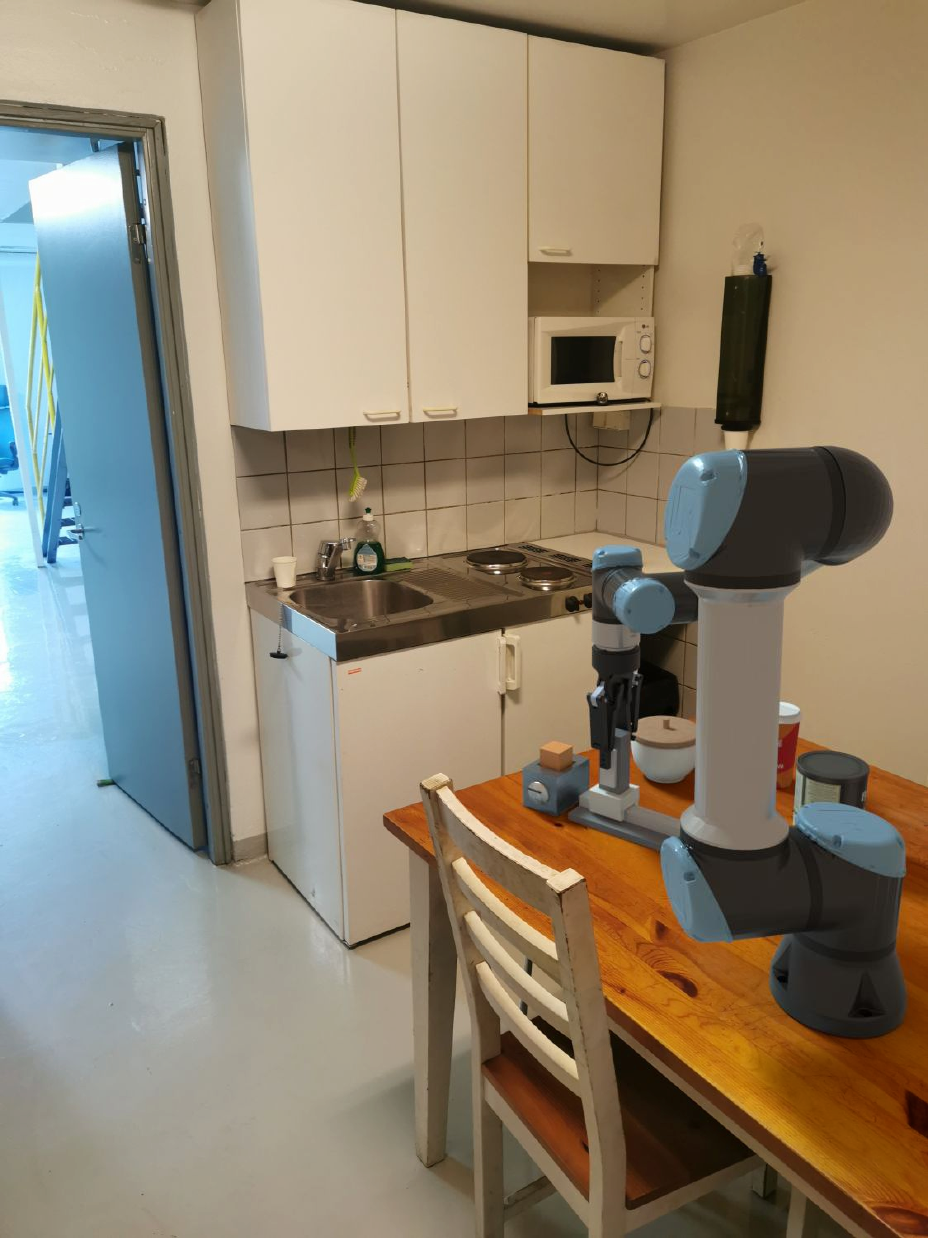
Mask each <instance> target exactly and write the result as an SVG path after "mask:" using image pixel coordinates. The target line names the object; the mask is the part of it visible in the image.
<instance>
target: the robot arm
mask: <svg viewBox="0 0 928 1238" xmlns="http://www.w3.org/2000/svg"><path fill="white" fill-rule="evenodd" d="M894 505H895V503H894V496H893V491H892V488H891V485H890V483H889V480H888V479H887V478H886V476H885V474H884V473H883V471H882V470H881V469H880V467H878V465H877V464H875V463H874V462H873V461H872V460H870V459H869V458H868V457H866V456H864V455H863V454H861V453H860V452H857V451H855V450H852V449H849V448H846V447H841V446H834V445H815V446H807V447H806V446H802V447H800V446H799V447H781V448H780V447H778V448H771V447H770V448H748V449H747V448H745V449H737V448H732V449H726V450H725V449H724V450H719V451H710V452H705V453H703V452H702V453H700V454H696V455H693V456H692V457H691V458H689V459H688V460H686V462H684V463H683V465H682V466H681V467H680V469H679V470H678V472H677V474H676V475H675V477H674V479H673V480H672V483H671V486H670V489H669V493H668V496H667V500H666V505H665V511H664V519H663V520H664V524H663V532H664V533H663V534H664V537H663V538H664V539H665V540H666V545H665V549H666V550H665V551H666V553H667V556H668V558H669V560H670V562H671V564H672V565H673V566H675V567H677V568H679V569H681V570H683V571H680V570H679V571H666V572H665V571H664V572H651V573H650V572H649V573H648V572H647V573H645V572H644V571H643V568H644V564H643V563H644V562H643V553H642V551H641V549H640V548H638V547H636V546H633V545H626V544H625V545H624V544H611V545H604V546H600V547H598V548H596V549H595V550H594V552H593V554H592V564H591V565H592V567H591V569H590V573H591V580H592V581H591V586H592V587H591V590H592V593H591V595H592V597H591V599H592V600H591V602H592V603H591V605H592V606H591V611H592V613H591V617H592V618H591V642H592V643H593V645H592V646H591V666H592V668H593V669H594V670H595V671H596V672H597V673H598V676H597V680H596V689H595V690H594V692H587V694H586V697H585V698H586V701H587V705H588V707H589V710H588V711H589V712H588V713H589V731H590V732H589V736H590V748H592V749H595V750H598V752H599V751H600V784H602V785H605V786H609V787H612V788H615V787H616V784H617V749H614V741H615V731H616V728H618V729H622V730H626V731H630V732H631V735H630V742H631V741H635V739H636V736H634V735H632V733H636V732H637V729H638V720H639V713H640V701H641V700H640V698H641V686H642V683H643V678H644V675H643V674H641V673H636V672H637V670H639V669H640V667H641V646H640V645H639V644H640V643H641V634H646V635H650V634H651V635H652V634H656V633H658V632H659V631H662V630H663V629H664V628H666V627H667V626H668V625H676V624H677V625H678V624H690V623H697V650H696V652H697V659H696V703H695V704H696V708H695V709H696V710H695V712H696V713H695V723H696V749H695V767H694V803H693V804H691V805H690V806H689V807H687V808H686V809H685V810H684V811H683V812H682V813H681V815H680V818H679V819H680V836H679V837H675V836H671V837H670V838H668V839H666V840H664V842H663V845H662V847H661V852H660V866H661V873H662V878H663V882H664V886H665V890H666V894H667V897H668V900H669V903H670V905H671V909H672V911H673V913H674V915H675V917H676V920H677V921H678V923H679V926H680V927H681V928H682V930H683V931H684V933H685V934H686V935H687V936H688V937H689V938H690V939H692V940H694V941H696V942H697V943H702V944H707V943H721V942H722V943H723V942H724V943H727V944H733V942H735V941H743V940H749V939H759V938H760V939H761V938H767V937H775V936H776V937H777V936H782V938H781V940H780V942H779V944H778V946H777V948H776V950H775V952H774V954H773V957H772V958H771V962H770V966H769V977H768V987H769V989H770V993H771V995H772V997H773V998H774V999H773V1000H775V1002H776V1003H777V1004H778V1005H779V1006H780V1008H781V1009H782V1010H783V1011H784V1012H786V1013H787V1014H788V1015H789V1016H791V1017H792V1018H794V1019H795V1020H796V1021H797V1022H799V1023H801V1024H803V1025H805V1026H807V1027H810V1028H811V1029H815V1030H817V1031H818V1032H819V1031H820V1032H823V1033H824V1034H829V1035H832V1036H837V1037H840V1038H841V1037H842V1038H851V1039H868V1038H875V1037H876V1038H877V1037H879V1036H883V1035H885V1034H889V1033H890V1032H892V1031H894V1030H895V1029H897V1028H898V1027H899V1026H900V1025H901V1024H902V1022H903V1021H904V1018H905V1016H906V1011H907V1001H908V993H907V992H908V991H907V986H906V983H905V979H904V975H903V971H902V967H901V963H900V959H899V956H898V953H897V950H896V946H897V937H898V930H899V920H900V911H901V905H902V904H901V903H902V893H903V884H904V877H905V876H906V874H907V868H906V843H905V842H906V841H905V839H904V838H903V836H902V834H901V833H900V832H899V830H898V829H897V828H896V827H895V826H894V825H893V824H892V823H889V821H887V820H885V819H884V818H882V817H880V816H878V815H877V814H875V813H872V812H869V811H867V810H866V809H865V810H862V809H860V808H856V807H853V806H849V805H845V804H839V803H832V802H814V803H809V804H806V805H804V806H803V807H802V808H800V809H799V810H798V813H797V815H796V816H795V823H796V824H795V825H793V824H792V825H789V823H788V821H787V820H786V819H785V818H784V817H783V816H782V815H781V814H780V813H779V812H778V811H777V810H776V805H777V804H776V801H777V800H776V798H777V789H776V781H777V757H778V734H779V710H780V702H781V685H782V683H781V682H782V681H781V680H782V659H783V657H782V656H783V636H784V610H785V600H786V597H787V596H789V595H790V594H791V593H792V592H794V590H795V589H797V587H799V586H800V585H801V582H802V581H801V580H802V579H803V578H804V577H807V576H808V575H810V574H812V573H814V572H815V571H817V570H819V569H820V568H823V567H824V566H826V567H837V566H843V565H846V564H848V563H850V562H851V561H854V560H855V559H857V558H859V557H862V556H863V555H865V554H866V553H868V552H870V551H871V550H872V549H873V548H874V547H875V546H877V545H878V544H879V543H880V541H882V539H883V538H884V537H885V535H886V533H887V531H888V529H889V527H890V526H891V523H892V520H893V515H894Z"/></svg>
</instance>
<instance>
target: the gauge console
mask: <svg viewBox="0 0 928 1238" xmlns="http://www.w3.org/2000/svg"><path fill="white" fill-rule="evenodd" d="M590 759H591V758H589V757H586V756H584V755H583V756H582V755H579V754H577V753H576V754H575V753H573V765H571V766H569V767H568V768H566V769H564V770H563V771H561V772H558V771H555V770H552V769H548V768H545V767H542V766H540V757H539V758H537V759H536V760H534V761H532V762H530V763H529V764H526V766H525V765H524V766H523V767H522V806H524V807H527V808H530V809H532V810H534V811H535V810H536V811H537V812H538V811H539V812H541V813H544V814H546V815H550V816H552V817H555V818H557V817H559V816H561V815H562V814H564V813H565V812H567V811H568V810H569V809H571V808H572V807H574V806H576V805H577V804H578V803H579V796H580V795H581V794H583V793H584V792H586V791H589V789H590V770H591V769H590V768H591V767H590V765H591V763H590V761H591V760H590Z"/></svg>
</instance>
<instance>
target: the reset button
mask: <svg viewBox="0 0 928 1238" xmlns="http://www.w3.org/2000/svg"><path fill="white" fill-rule="evenodd" d="M573 748H574V747H573V745H570V744H566V743H564V742H560V741H557V740H552V741H550V742H549V743H545V744H544V745H543V746H541V747H539V758H540V766H542V767H545V768H548V769H552V770H555V771H558V772H561V771H563V770H564V769H566V768H568V767H569V766H571V765H573V754H574V751H573Z"/></svg>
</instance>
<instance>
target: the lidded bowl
mask: <svg viewBox="0 0 928 1238" xmlns="http://www.w3.org/2000/svg"><path fill="white" fill-rule="evenodd" d="M632 735H634V736H636V739H635V741H630V749H631V753H632V757H633V761H634V763H635V765H636V767H637V768H638V769H639V771H641V772H642V774H644V776H645V778H647V779H648V780H649V781H652V782H655V783H657V784H675V783H678V782H681V781H682V780H683V781H684V779H685V777H686V776H688V775H689V774H690V773H691V772H692V771H693V770H694V769H695V749H696V722H694V721H692V720H689V719H686V718H682V717H677V716H673V715H671V716H670V715H655V716H654V715H653V716H645V717H642V718H638V729H637V732H636V733H632Z"/></svg>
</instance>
